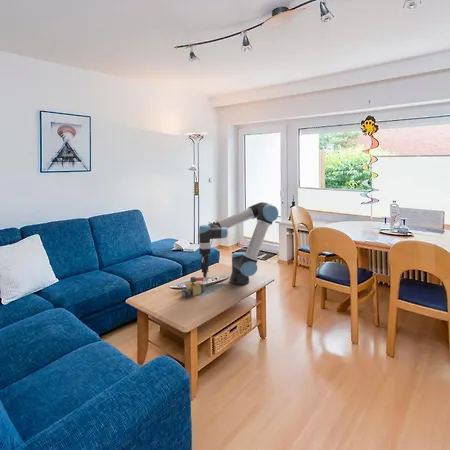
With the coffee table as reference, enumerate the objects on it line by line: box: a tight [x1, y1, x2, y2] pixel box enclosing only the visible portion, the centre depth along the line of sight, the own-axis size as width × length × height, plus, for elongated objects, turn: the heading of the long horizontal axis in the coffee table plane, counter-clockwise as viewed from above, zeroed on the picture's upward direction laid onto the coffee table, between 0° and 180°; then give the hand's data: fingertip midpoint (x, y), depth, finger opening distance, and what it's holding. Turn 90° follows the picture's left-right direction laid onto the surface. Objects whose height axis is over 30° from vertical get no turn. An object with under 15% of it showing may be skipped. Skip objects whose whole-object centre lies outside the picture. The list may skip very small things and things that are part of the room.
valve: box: [181, 281, 206, 299], centre depth 222 cm, size 18×7×10 cm, turn 134°
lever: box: [189, 276, 209, 282], centre depth 221 cm, size 12×4×2 cm, turn 98°
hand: (205, 281), depth 220 cm, fingers closed
